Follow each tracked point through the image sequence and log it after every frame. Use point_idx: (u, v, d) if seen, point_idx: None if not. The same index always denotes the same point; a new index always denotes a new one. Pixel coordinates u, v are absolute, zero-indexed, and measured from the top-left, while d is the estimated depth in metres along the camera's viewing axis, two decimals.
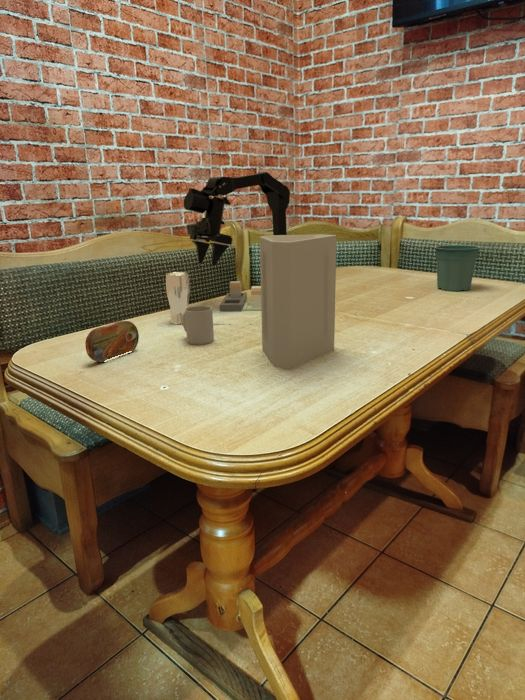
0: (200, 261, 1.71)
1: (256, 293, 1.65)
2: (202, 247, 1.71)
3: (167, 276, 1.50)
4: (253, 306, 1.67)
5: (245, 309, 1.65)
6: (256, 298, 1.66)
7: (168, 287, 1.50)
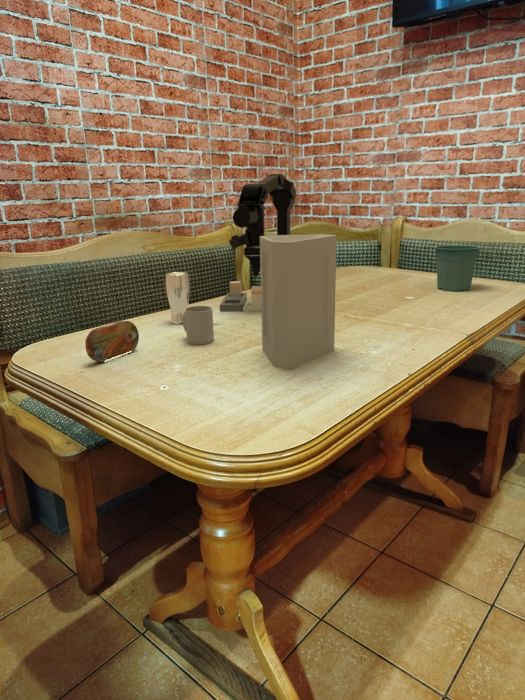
0: None
1: (256, 293, 1.65)
2: None
3: (167, 276, 1.50)
4: (253, 306, 1.67)
5: (245, 309, 1.65)
6: (256, 298, 1.66)
7: (168, 287, 1.50)
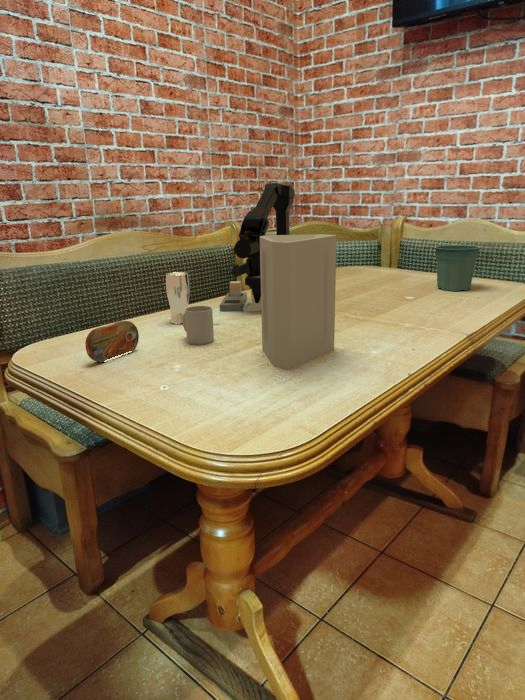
0: None
1: None
2: None
3: (167, 276, 1.50)
4: (253, 306, 1.67)
5: (245, 309, 1.65)
6: None
7: (168, 287, 1.50)
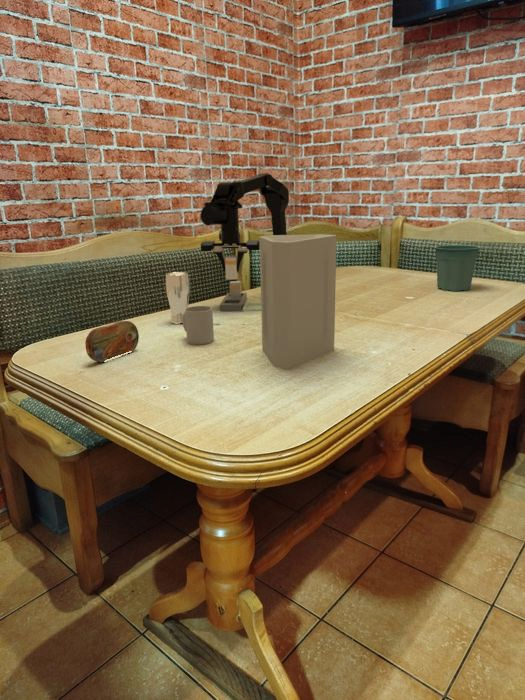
0: (237, 270, 1.65)
1: None
2: None
3: (167, 276, 1.50)
4: None
5: (245, 309, 1.65)
6: None
7: (168, 287, 1.50)
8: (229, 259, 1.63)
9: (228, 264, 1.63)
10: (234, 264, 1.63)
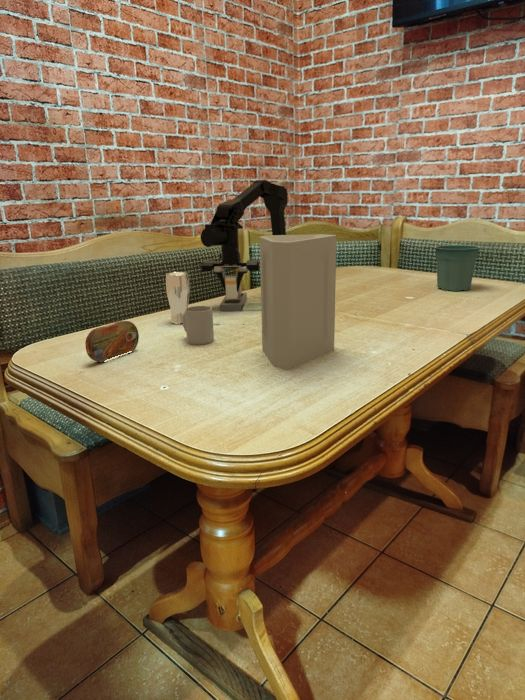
0: (237, 290, 1.68)
1: None
2: None
3: (167, 276, 1.50)
4: None
5: (245, 309, 1.65)
6: None
7: (168, 287, 1.50)
8: (229, 279, 1.65)
9: (229, 284, 1.65)
10: (234, 283, 1.65)
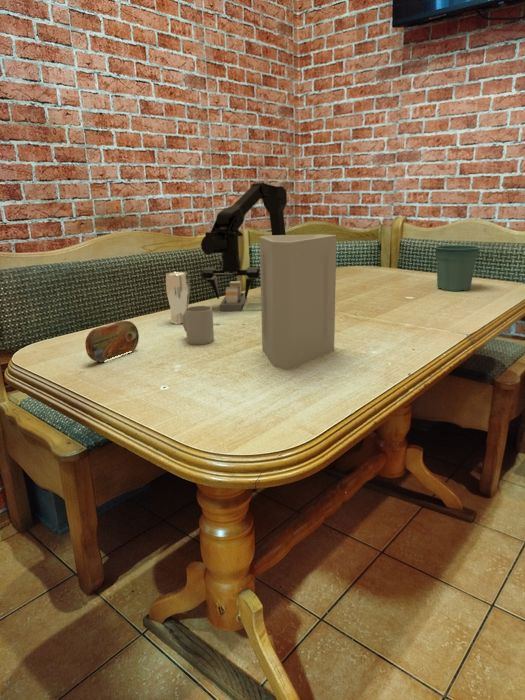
0: (245, 297, 1.68)
1: None
2: None
3: (167, 276, 1.50)
4: None
5: (245, 309, 1.65)
6: None
7: (168, 287, 1.50)
8: (230, 290, 1.66)
9: (229, 295, 1.66)
10: (235, 295, 1.66)
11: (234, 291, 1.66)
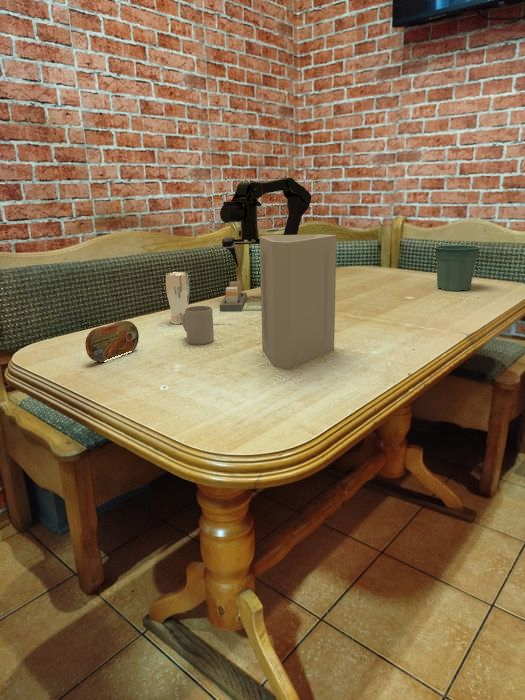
0: None
1: None
2: None
3: (167, 276, 1.50)
4: None
5: (245, 309, 1.65)
6: None
7: (168, 287, 1.50)
8: (230, 290, 1.66)
9: (229, 295, 1.66)
10: (235, 295, 1.66)
11: (234, 291, 1.66)
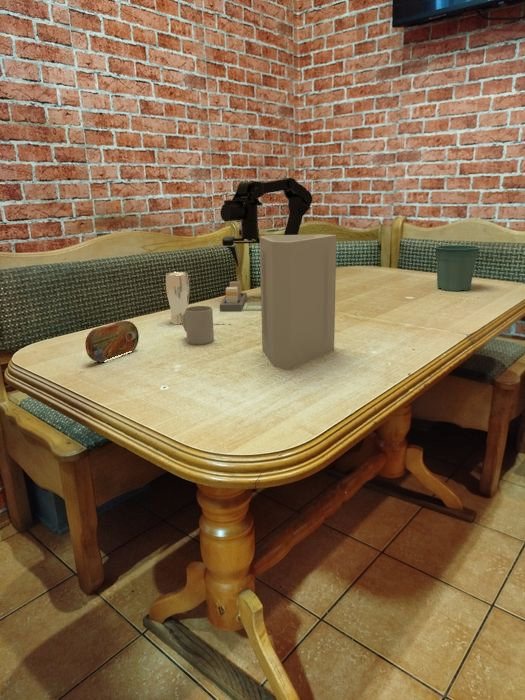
0: None
1: None
2: None
3: (167, 276, 1.50)
4: None
5: (245, 309, 1.65)
6: None
7: (168, 287, 1.50)
8: (230, 290, 1.66)
9: (229, 295, 1.66)
10: (235, 295, 1.66)
11: (234, 291, 1.66)
